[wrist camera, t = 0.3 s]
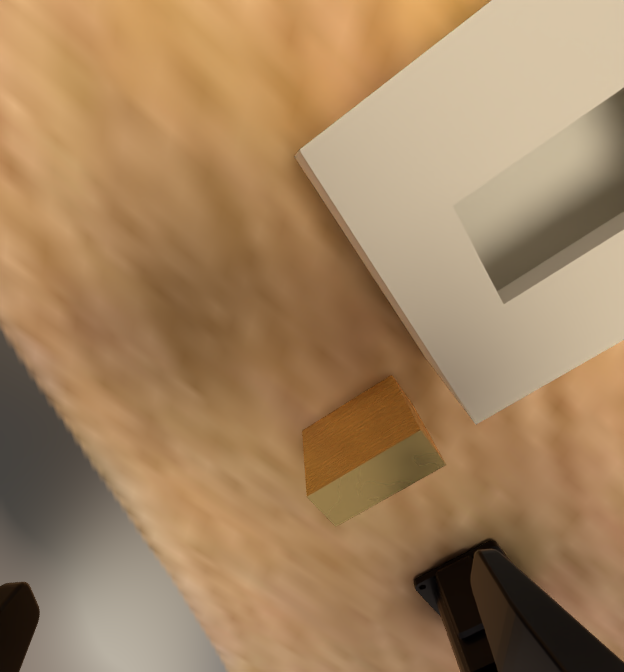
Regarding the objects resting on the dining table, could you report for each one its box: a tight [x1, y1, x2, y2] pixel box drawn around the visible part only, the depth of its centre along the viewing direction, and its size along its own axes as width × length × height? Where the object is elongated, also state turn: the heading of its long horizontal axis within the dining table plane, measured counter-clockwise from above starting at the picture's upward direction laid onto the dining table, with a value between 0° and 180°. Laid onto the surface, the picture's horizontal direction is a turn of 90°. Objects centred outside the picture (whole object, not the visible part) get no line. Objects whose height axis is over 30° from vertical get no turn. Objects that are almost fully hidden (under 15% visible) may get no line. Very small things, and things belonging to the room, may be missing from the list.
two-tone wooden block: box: [302, 375, 446, 527], centre depth 20 cm, size 2×6×5 cm, turn 125°
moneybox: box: [294, 0, 624, 424], centre depth 15 cm, size 12×14×6 cm
